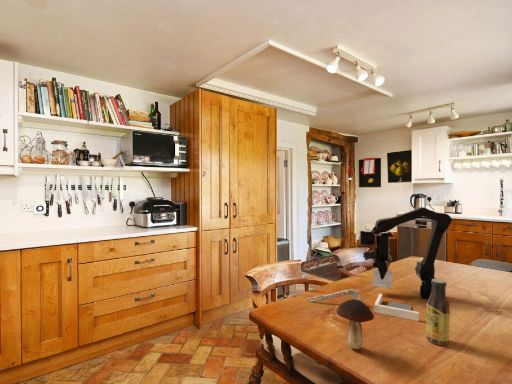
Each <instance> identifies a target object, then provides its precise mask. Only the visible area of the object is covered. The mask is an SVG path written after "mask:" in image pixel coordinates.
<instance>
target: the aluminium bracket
mask: <svg viewBox="0 0 512 384" xmlns="http://www.w3.org/2000/svg"><path fill="white" fill-rule="evenodd" d="M371 286H372V287H379V288H383V289H384V288H385V289H391V288H392V286H393V271H391V270H387V272H386V274H385V277H384V279H381V278H380V274H379V270H378V268H373V271H372V281H371Z"/></svg>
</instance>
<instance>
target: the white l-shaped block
mask: <svg viewBox="0 0 512 384" xmlns="http://www.w3.org/2000/svg"><path fill="white" fill-rule="evenodd" d="M382 303H383V294H382V293H379V294H378V296H377V298H376V299H375V302H374V305H373V306H374V307H373V312H374V313H376V314H381V315H385V316H391V317H396V318H400V319H405V320H410V321H414V322H420V312H419V311H414V310H411V311H410V310H405V309H399V308H394V307H389V306H387V305H383V304H382Z"/></svg>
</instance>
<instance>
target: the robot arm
mask: <svg viewBox="0 0 512 384" xmlns="http://www.w3.org/2000/svg"><path fill="white" fill-rule="evenodd" d="M422 217H423V218H427V219H428V220H431V225H430V226H431V232H430V236H429V239H428V243H427V245H426V249H425V252H424V255H423V258H422V260H421V261H420V262H419V261H416V266H415V268H414V270H415V275H416V276H417V277H418V278H419V280H420V281H421V285H419V295H420V298H421V299H426V300H428V299H429V297H430V295H431V292H432V284H431V281H432V279H437V278H436V277H435V272H436V269H435V262H436V258H437V254H438V252H439V249H440V245H441V243H442V239H443V236H444V233H445V232H446V231H447V230H448V229H449V227H450V225H451V224H452V221H453V220H452V217H451V216H450V215H449V214H448V213H443V212H437V211H434V210H431V209H428V208H427V207H422V206H420V207H418V208H416V209H413V210H409V211H408V212H407V211H406V212H404V213H401V214H398V215H396V216H393V217H386V218H384V217H383V218H380V219H377V220H376V222H375V223H374V224H375V225H374V227H373V228H372V229H371V230H370V231H366V230H360V231H359V237H358V239H359V241H358V242H359V246H373V245H375V248H374V249H373V250H367V251H364V252H363V253H362V254H363V258H364V260H365V261H368V260H370V259H374V260H373V261H372V267H373V268H376V269H378V270H379V274H380V278H381V279H384V277H385V274H386V272H387V271H389V268H390V265H391V262H392V258H393V257H392V255H391V254H390V250H391V249H390V248H391V247H390V238H394V237H395V236H394V234H392V233H391V230H393V229H394V228H396V227H397V226H399V225H402V224H405V223H408V222H410V221H414V220H417V219H420V218H422ZM388 261H389V262H388Z"/></svg>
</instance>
